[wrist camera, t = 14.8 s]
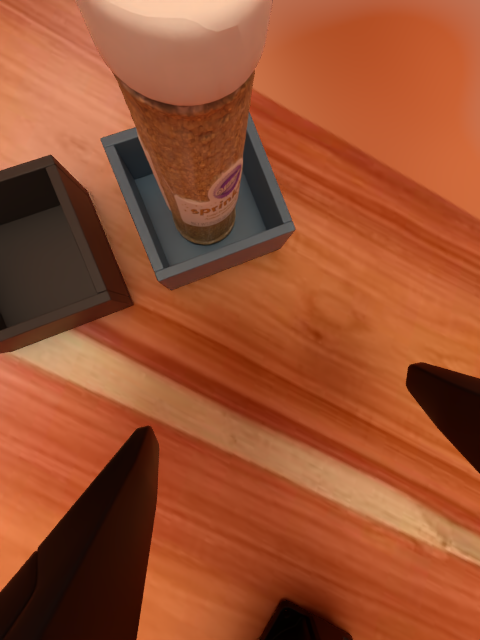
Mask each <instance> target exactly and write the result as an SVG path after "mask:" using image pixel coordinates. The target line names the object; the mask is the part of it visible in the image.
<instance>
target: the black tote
mask: <svg viewBox="0 0 480 640" xmlns="http://www.w3.org/2000/svg"><path fill="white" fill-rule="evenodd" d="M132 305H134V304H133V302H132V299H131V297H130V294H129V292H128V290H127V287H126V285H125V282H124V280H123V277H122V275H121V272H120V270H119V268H118V265H117V263H116V260H115V258H114V255H113V253H112V250H111V248H110V246H109V243H108V241H107V238H106V236H105V233H104V231H103V228H102V226H101V224H100V221H99V219H98V216H97V214H96V211H95V209H94V207H93V204H92V202H91V199H90V197H89V194H88V192H87V190H86V189H85V188H84V187H83V186H82V185H81V184H80V183H79V182H78V181H77V180H76V179H75V178H74V177H73V176H72V175H71V174H70V173H69V172H68V171H67V170H66V169H65V168H64V167H63V166H62V165H61V164H60V163H59V162H58V161H57V160H56V159H55V158H54V157H53V156H52V155H48V156H45V157H42V158H39V159H36V160H32V161H29V162H26V163H23V164H20V165H17V166H14V167H10V168H7V169H4V170H1V171H0V353H5V352H12V351H15V350H17V349H20V348H23V347H25V346H28V345H30V344H33V343H36V342H38V341H41V340H43V339H46V338H49V337H51V336H54V335H57V334H59V333H62V332H64V331H67V330H70V329H72V328H75V327H77V326H80V325H83V324H85V323H88V322H90V321H93V320H96V319H98V318H101V317H104V316H106V315H109V314H111V313H114V312H117V311H119V310H122V309H124V308H127V307H130V306H132Z"/></svg>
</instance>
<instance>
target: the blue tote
mask: <svg viewBox="0 0 480 640" xmlns="http://www.w3.org/2000/svg"><path fill="white" fill-rule="evenodd" d="M101 142H102V145H103V147H104V149H105V152H106V155H107V157H108V159H109V162H110V164H111V167H112V169H113V172H114V174H115V177H116V179H117V182H118V184H119V186H120V189H121V191H122V194H123V196H124V199H125V201H126V204H127V206H128V209H129V211H130V214H131V216H132V218H133V221H134V223H135V226H136V228H137V231H138V233H139V236H140V238H141V241H142V243H143V245H144V248H145V250H146V253H147V255H148V258H149V260H150V263H151V265H152V268H153V270H154V272H155V275H156V277H157V280H158V281H159V282H160V283H162V284H163V285H164V286H166V287H167V288H169V289H170V290H173V289H176V288H178V287H181V286H184V285H186V284H189V283H192V282H194V281H197V280H199V279H202V278H205V277H207V276H210V275H212V274H215V273H218V272H220V271H223V270H225V269H228V268H231V267H233V266H236V265H239V264H241V263H244V262H246V261H249V260H252V259H254V258H257V257H259V256H262V255H265V254H267V253H270V252H273V251H275V250H278V249H280V248H281V247H282V246H283V244H284V243H285V242H286V241H287V239H288V238H289V237H290V236H291V235H292V233H293V232H294V231H295V226H294V224H293V222H292V219H291V216H290V214H289V211H288V209H287V206H286V204H285V201H284V199H283V196H282V194H281V191H280V188H279V186H278V183H277V181H276V178H275V176H274V173H273V171H272V168H271V166H270V163H269V161H268V158H267V155H266V153H265V150H264V148H263V145H262V143H261V140H260V138H259V135H258V133H257V130H256V128H255V125H254V122H253V120H252V117H251V115H250V112H249V115H248V123H247V129H246V138H245V144H244V151H243V166H242V174H241V181H240V187H239V194H238V199H237V203H236V206H235V210H236V217H235V222H234V226H233V228H232V230H231V232H230V233H229V235H227V236H226V237H225V238H224V239H222V240H221V241H218V242H217V243H214V244H211V245H201V244H196V243H193V242H190V241H189V240H187V239H185V238H184V237H183V236H182V235H181V234H180V232H179V231H178V230H177V228H176V226H175V223H174V221H173V216H172V212H171V211H170V209H169V208H168V206H167V204H166V202H165V199H164V197H163V195H162V193H161V190H160V188H159V186H158V183H157V181H156V179H155V176H154V174H153V172H152V169H151V167H150V164H149V162H148V160H147V157H146V155H145V153H144V150H143V148H142V146H141V143H140V141H139V138H138V134H137V130H136V127H135V128H131V129H128V130H125V131H122V132H119V133H116V134H113V135H109V136H106V137H103V138H101Z"/></svg>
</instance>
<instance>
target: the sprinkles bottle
mask: <svg viewBox="0 0 480 640" xmlns="http://www.w3.org/2000/svg"><path fill="white" fill-rule="evenodd" d="M272 1H273V0H76V3H77V5H78V7H79V9H80V12H81V14H82V16H83V19H84V21H85V23H86V26H87V28H88V30H89V33H90V35H91V37H92V39H93V42H94V44H95V46H96V48H97V50H98V52H99V54H100V55H101V57H102V59H103V60H104V62H105V63H106V65H107V66H108V67H109V68H110V69H111V71H112V73H113V74H114V76H115V78H116V79H117V81H118V84H119V87H120V89H121V91H122V93H123V95H124V99H125V102H126V104H127V106H128V108H129V110H130V113H131V116H132V119H133V121H134V123H135V126H136V130H137V134H138V138H139V141H140V143H141V146H142V148H143V150H144V153H145V155H146V157H147V160H148V162H149V164H150V167H151V169H152V172H153V174H154V176H155V179H156V181H157V183H158V186H159V188H160V190H161V193H162V195H163V197H164V199H165V202H166V204H167V206H168V208H169V209H170V211H171V212H172V216H173V221H174V223H175V226H176V228H177V230H178V231H179V232H180V234H181V235H182V236H183V237H184V238H185V239H187V240H189V241H190V242H193V243H196V244H201V245H211V244H214V243H217V242H218V241H221V240H222V239H224V238H225V237H226V236H227V235H229V233H230V232H231V230H232V228H233V226H234V222H235V217H236V210H235V206H236V203H237V199H238V194H239V187H240V181H241V174H242V166H243V151H244V144H245V138H246V129H247V123H248V115H249V108H250V100H251V93H252V86H253V79H254V74H255V68H256V66H257V64H258V62H259V60H260V58H261V56H262V53H263V49H264V47H265V41H266V36H267V30H268V24H269V18H270V13H271V7H272Z"/></svg>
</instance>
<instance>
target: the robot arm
mask: <svg viewBox="0 0 480 640" xmlns="http://www.w3.org/2000/svg"><path fill="white" fill-rule="evenodd" d="M406 386H407V389H408V391H409V392H410V393H411V395H412V396H413V397H414V398H415V400H416V401H417V402H418V404H419V405H420V406H421V407H422V409H423V410H424V411H425V413H426V414H427V415H428V416H429V418H430V419H431V420H432V421H433V423H434V424H435V425H436V426H437V428H438V429H439V430H440V431H441V432H442V433H443V435H444V436H445V437H446V438H447V439H448V440H449V441H450V442H451V443H452V444H453V445H454V446H455V447H456V449H457V450H458V451H459V452H460V453H461V454H462V455H463V456H464V457H465V458H466V459H467V460H468V462H469V463H470V464H471V465H472V466H473V467H474V468H475V469H476V470H477V471H478V472H479V473H480V379H479V378H475V377H472V376H468V375H465V374H461V373H458V372H455V371H451V370H448V369H444V368H441V367H437V366H434V365H430V364H427V363H423V362H420V363H415V364H411V365H410V366H409V367H408V371H407V379H406ZM158 467H159V444H158V441H157V439H156V436H155V434H154V431H153V429H152V427H151V426H144V427H140V428H137V429H136V430H135V431H134V433H133V434H132V435H131V436H130V437H129V439H128V440H127V441H126V442H125V443H124V445H123V446H122V447H121V448H120V449H119V451H118V452H117V453H116V454H115V455H114V457H113V458H112V459H111V460H110V461H109V463H108V464H107V465H106V466H105V467H104V469H103V470H102V471H101V472H100V473H99V475H98V476H97V477H96V478H95V480H94V481H93V482H92V483H91V484H90V486H89V487H88V488H87V489H86V490H85V492H84V493H83V494H82V495H81V496H80V498H79V499H78V500H77V501H76V502H75V504H74V505H73V506H72V507H71V508H70V510H69V511H68V512H67V513H66V514H65V516H64V517H63V518H62V519H61V520H60V522H59V523H58V524H57V525H56V526H55V528H54V529H53V530H52V531H51V533H50V534H49V535H48V536H47V537H46V539H45V540H44V541H43V542H42V543H41V545H40V546H39V547H38V551H35V552H34V553H33V554H32V555H31V556H30V558H29V559H28V560H27V561H26V562H25V564H24V565H23V566H22V567H21V568H20V570H19V571H18V572H17V573H16V574H15V576H14V577H13V578H12V579H11V580H10V581H9V583H8V584H7V585H6V586H5V587H4V588H3V590H2V591H1V592H0V640H136V639H137V632H138V626H139V619H140V612H141V605H142V599H143V592H144V585H145V578H146V571H147V565H148V558H149V551H150V544H151V538H152V531H153V524H154V517H155V511H156V503H157V489H158ZM285 610H286V611H285ZM260 640H353V639H352V636H351V635H349V634H348V633H346V632H344V631H342V630H340V629H338V628H337V627H335V626H333V625H331V624H329V623H328V622H326V621H324V620H322V619H320V618H318V617H317V616H315V615H313V614H311V613H309V612H308V611H306V610H304V609H302V608H300V607H298V606H297V605H295V604H293V603H291V602H289V601H287V600H286V601H282V602H281V603H280V604H279V606H278V608H277V610H276V611H275V613H274V615H273V617H272V618H271V620H270V622H269V624H268V626H267V627H266V629H265V631H264V633H263V634H262V636H261V638H260Z"/></svg>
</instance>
